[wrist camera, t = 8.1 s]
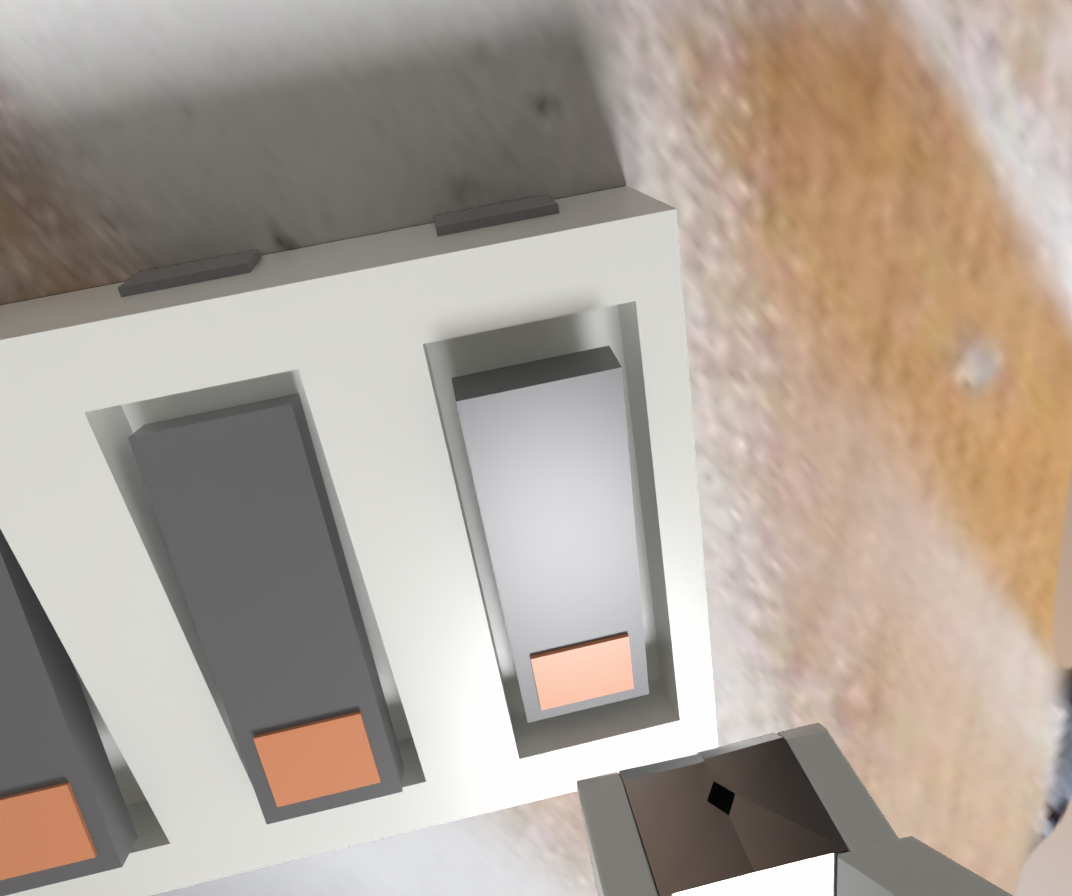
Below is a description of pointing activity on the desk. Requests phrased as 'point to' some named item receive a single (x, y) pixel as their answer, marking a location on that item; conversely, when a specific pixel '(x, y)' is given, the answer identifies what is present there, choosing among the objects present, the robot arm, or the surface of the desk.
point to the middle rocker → (273, 603)
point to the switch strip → (353, 509)
